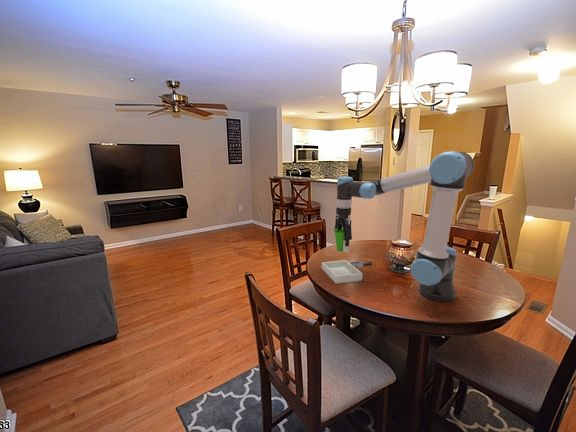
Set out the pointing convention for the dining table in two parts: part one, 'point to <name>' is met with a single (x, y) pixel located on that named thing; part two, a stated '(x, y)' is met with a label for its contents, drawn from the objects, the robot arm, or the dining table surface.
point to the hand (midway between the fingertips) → (341, 248)
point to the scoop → (359, 264)
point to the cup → (339, 239)
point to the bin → (341, 272)
